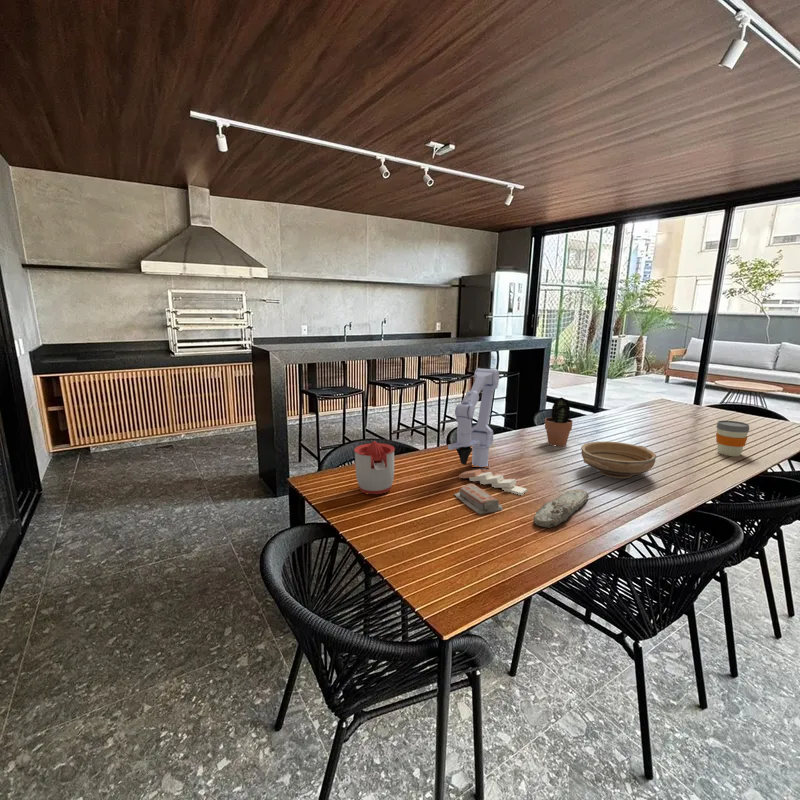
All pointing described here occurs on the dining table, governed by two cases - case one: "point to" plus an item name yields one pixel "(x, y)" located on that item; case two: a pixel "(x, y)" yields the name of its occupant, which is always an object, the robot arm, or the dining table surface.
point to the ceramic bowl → (618, 458)
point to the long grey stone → (560, 508)
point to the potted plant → (559, 423)
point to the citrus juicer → (374, 467)
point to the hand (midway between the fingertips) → (463, 464)
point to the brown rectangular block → (470, 473)
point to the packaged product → (478, 499)
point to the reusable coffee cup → (731, 437)
